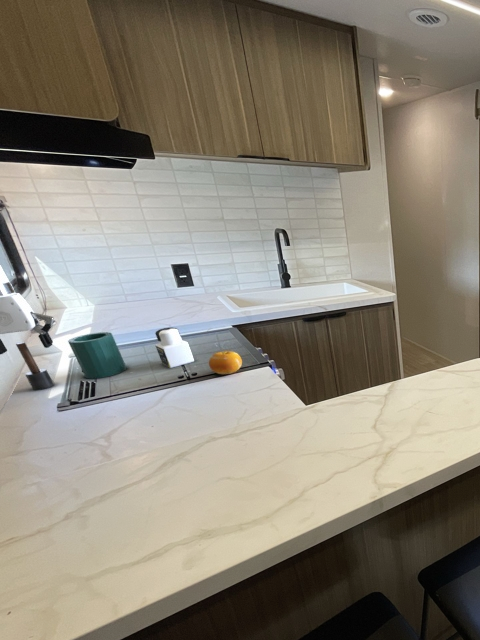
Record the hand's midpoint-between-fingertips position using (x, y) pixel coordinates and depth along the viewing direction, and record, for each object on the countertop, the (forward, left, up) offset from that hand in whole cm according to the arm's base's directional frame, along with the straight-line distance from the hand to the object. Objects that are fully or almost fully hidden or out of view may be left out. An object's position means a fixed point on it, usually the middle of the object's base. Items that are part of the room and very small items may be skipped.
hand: (26, 349), depth 116 cm
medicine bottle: (+27, +19, -12) cm, 35 cm away
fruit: (+50, +11, -12) cm, 52 cm away
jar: (+9, +11, -12) cm, 18 cm away
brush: (0, 0, -12) cm, 12 cm away
